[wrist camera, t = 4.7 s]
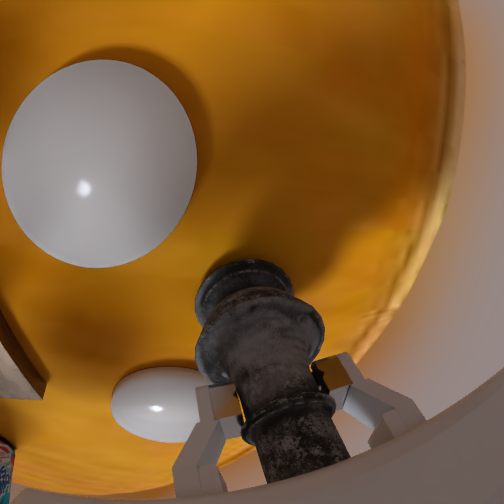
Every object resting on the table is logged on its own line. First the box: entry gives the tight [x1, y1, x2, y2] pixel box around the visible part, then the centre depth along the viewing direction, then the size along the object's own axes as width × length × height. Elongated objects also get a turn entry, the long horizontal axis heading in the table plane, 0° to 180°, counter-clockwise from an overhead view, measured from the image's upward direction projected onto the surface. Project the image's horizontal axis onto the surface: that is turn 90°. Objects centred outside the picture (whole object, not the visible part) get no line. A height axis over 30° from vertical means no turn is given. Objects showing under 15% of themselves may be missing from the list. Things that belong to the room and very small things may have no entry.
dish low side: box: [2, 59, 197, 268], centre depth 11 cm, size 9×9×1 cm
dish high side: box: [111, 367, 213, 442], centre depth 19 cm, size 9×9×1 cm
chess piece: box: [195, 259, 351, 484], centre depth 11 cm, size 6×6×12 cm
